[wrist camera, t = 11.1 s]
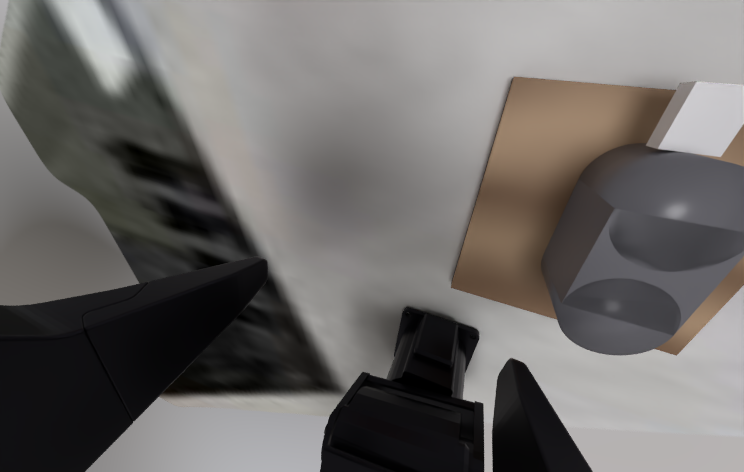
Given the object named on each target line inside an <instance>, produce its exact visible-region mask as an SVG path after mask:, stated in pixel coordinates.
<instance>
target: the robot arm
mask: <svg viewBox="0 0 744 472" xmlns="http://www.w3.org/2000/svg"><path fill="white" fill-rule="evenodd" d="M267 279H268V263H267V260H265V259H263V258H261V257H252V258H247V259H243V260H239V261H235V262H230V263H226V264H222V265H218V266H213V267H209V268H205V269H200V270H196V271H192V272H188V273H183V274H179V275H175V276H170V277H166V278H162V279H158V280H153V281H150V282H149V283H148V282H145V283H140V284H136V285H132V286H127V287H123V288H118V289H114V290H109V291H103V292H98V293H93V294H88V295H82V296H77V297H71V298H66V299H60V300H55V301H50V302H45V303H38V304H32V305H21V306H3V305H0V472H85V471H86V470H87V469H88V468H89V467H90V466H91V465H92V464H93V463H94V462H95V461H96V460H97V459H98V458H99V457H100V456H101V455H102V454H103V453H104V452H105V451H106V450H107V449H108V448H109V447H110V446H111V445H112V444H113V443H114V442H115V441H116V440H117V439H118V438H119V437H120V436H121V434H123V433H124V432H125V431H126V429H127V428H128V427H129V426H130V425H131V424H132V423H133V421H135V420H136V419H137V418H138V417H139V416H140V415H141V414H142V413H143V412H144V411H145V410H146V409H147V408H148V407H149V406H150V405H151V404H152V403H153V402H154V401H155V400H156V399H157V398H158V397H159V396H160V395H161V394H162V393H163V392H164V391H165V390H166V389H167V388H168V387H169V386H170V385H171V384H172V383H173V382H174V380H175V379H176V378H177V377H178V376H179V375H180V374H181V373H182V372H183V371H184V370H185V369H186V368H187V367H188V366H189V365H190V364H191V363H192V362H193V361H194V360H195V359H196V358H197V357H198V356H199V355H200V354H201V353H202V352H203V351H204V350H205V349H206V348H207V347H208V346H209V345H210V344H211V343H212V342H213V341H214V340H215V339H216V338H217V337H218V336H219V335H220V334H221V333H222V332H223V331H224V330H225V329H226V328H227V327H228V326H229V325H230V324H231V323H232V322H233V321H234V320H235V319H236V317H237V316H238V315H239V314H240V313H241V312H242V311H243V310H244V309H245V307H246V306H247V305H248V304H249V303H250V301H251V300H252V299H253V298H254V296H255V295H256V294H257V293H258V291H259V290H260V289H261V288H262V286H263V285H264V284H265V283H266V281H267ZM407 312H408V313H410V314H408V313H407ZM472 335H475V336H472ZM478 341H479V332H478V331H477V330H475V329H472V328H469V327H466V326H464V325H461V324H458V323H455V322H452V321H449V320H446V319H443V318H440V317H437V316H434V315H431V314H428V313H425V312H422V311H419V310H416V309H413V308H409V307H406V308H405V309H404V311H403V313H402V318H401V323H400V328H399V333H398V338H397V343H396V347H395V352H394V360H393V363H392V366H391V368H390V371H389V374H388V377H387V379H384V378H380V377H376V376H372V375H370V373H366V372H362V373H361V375H360V376H359V377H358V379H357V380H356V381H355V382H354V384H353V385H352V386H351V388H350V389H349V391H348V392H347V393H346V395H345V396H344V397H343V399H342V400H341V401H340V403H339V404H338V405H337V407H336V408H335V409H334V411H333V412H332V413H331V415H330V417H329V420H328V424H327V425H326V427H325V431H324V434H325V435H324V440H323V444H322V452H321V460H322V463H321V469H320V472H484V414H483V403H480V402H476V401H475V403H474V402H470V401H466V400H463V389H464V376H465V372H466V370H467V367H468V365H469V362H470V360H471V358H472V355H473V353H474V350H475V348H476V345H477V343H478ZM492 450H493V451H492V452H493V453H492V454H493V472H592V470H591V468H590V467H589V465H588V463H587V462H586V460H585V459H584V457H583V455H582V454H581V452H580V451H579V449H578V448H577V446H576V444H575V443H574V441H573V440H572V438H571V436H570V435H569V433H568V431H567V430H566V428H565V427H564V425H563V423H562V422H561V420H560V419H559V417H558V415H557V414H556V412H555V411H554V409H553V407H552V406H551V404H550V403H549V401H548V399H547V398H546V396H545V395H544V393H543V391H542V390H541V388H540V387H539V385H538V383H537V382H536V380H535V379H534V377H533V375H532V374H531V372H530V371H529V369H528V367H527V366H526V365H525V364H524V363H523V362H520V361H518V360H515V359H513V358H510V359H509V360H508V361H507V362H506V364H505V366H504V367H503V369H502V370H501V372H500V373H499V376H498V379H497V388H496V398H495V408H494V418H493V430H492Z"/></svg>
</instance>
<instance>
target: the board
mask: <svg viewBox="0 0 744 472" xmlns="http://www.w3.org/2000/svg"><path fill="white" fill-rule="evenodd" d="M675 92H676V90H666V89H654V88H642V87H630V86H618V85H606V84H594V83H582V82H570V81H558V80H546V79H535V78H523V77H514V78H513V80H512V83H511V87H510V90H509V93H508V97H507V100H506V103H505V107H504V110H503V113H502V117H501V120H500V123H499V127H498V130H497V133H496V137H495V140H494V143H493V147H492V150H491V154H490V157H489V160H488V164H487V167H486V170H485V174H484V177H483V180H482V184H481V187H480V190H479V194H478V197H477V200H476V204H475V207H474V210H473V214H472V217H471V220H470V224H469V227H468V230H467V234H466V237H465V240H464V244H463V247H462V250H461V254H460V257H459V260H458V264H457V267H456V270H455V274H454V277H453V280H452V285H451V288H454V289H457V290H461V291H464V292H467V293H471V294H474V295H477V296H481V297H484V298H487V299H491V300H494V301H497V302H501V303H504V304H507V305H511V306H514V307H517V308H521V309H524V310H527V311H531V312H534V313H537V314H541V315H544V316H547V317H550V318H554V319H557V316H556V313H555V310H554V307H553V304H552V301H551V298H550V295H549V292H548V289H547V286H546V283H545V280H544V277H543V273H542V270H541V260H542V257H543V254H544V252H545V250H546V248H547V246H548V244H549V241H550V239H551V237H552V235H553V233H554V231H555V229H556V226H557V224H558V222H559V220H560V218H561V216H562V214H563V211H564V209H565V207H566V205H567V203H568V201H569V199H570V196H571V194H572V192H573V190H574V188H575V186H576V184H577V181H578V179H579V177H580V176H581V174H582V172H583V171H584V170H585V168H586V167H587V166H588V165H589V164H590V163H591V162H592V161H593V160H595V159H596V158H597V157H599V156H600V155H602V154H604V153H605V152H607V151H609V150H612V149H614V148H617V147H620V146H623V145H627V144H634V143H647V142H648V141H649V139H650V137H651V135H652V133H653V131H654V130H655V128H656V126H657V124H658V122H659V121H660V119H661V117H662V115H663V113H664V112H665V110H666V108H667V106H668V104H669V103H670V101H671V99H672V97H673V95H674V94H675ZM697 155H701V154H697ZM701 156H705V157H709V158H713V159H717V160H721V161H726V162H730V163H734V164H737V165H741V166H744V124H743V126H742V127H741V129H740V130H739V131H738V133H737V134H736V136H735V137H734V139H733V140H732V142H731V143H730V144H729V146H728V147H727V149H726V150H725V152H724V153H723V154H722V156H721V157H716V156H708V155H701ZM743 285H744V256H743V258H742V259H741V260H740V261H739V262H738V263H737V264H736V266H735V267H734V268H733V269H732V270H731V271H730V272H729V273H728V275H727V276H726V277H725V278H724V279H723V280H722V281H721V282H720V284H719V285H718V286H717V287H716V288H715V289H714V290H713V292H712V293H711V294H710V295H709V296H708V297H707V298H706V299H705V301H704V302H703V303H702V304H701V305H700V306H699V307H698V308H697V310H696V311H695V312H694V313H693V314H692V315H691V316H690V318H689V319H688V320H687V321H686V322H685V323H684V324H683V325H682V327H681V328H680V329H679V330H678V331H677V332H676V333H675V335H674V336H673V337H672V338H671V339H669V340H668V341H667V342H666V343H664V344H662V345H661V346H659V347H657V348H655V349H657V350H660V351H664V352H667V353H670V354H674V355H677V354H678V353H679V352H680V351H681V350H682V349H683V348H684V347H685V346H686V345H687V344H688V343H689V342H690V341H691V340H692V339H693V338H694V337H695V336H696V334H697V333H698V332H699V331H700V330H701V329H702V328H703V327H704V326H705V325H706V324H707V323H708V322H709V321H710V320H711V319H712V318H713V317H714V316H715V315H716V313H717V312H718V311H719V310H720V309H721V308H722V307H723V306H724V305H725V304H726V303H727V302H728V301H729V300H730V299H731V298H732V297H733V296H734V295H735V293H736V292H737V291H738V290H739V289H740V288H741V287H742V286H743Z"/></svg>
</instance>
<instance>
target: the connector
mask: <svg viewBox="0 0 744 472" xmlns="http://www.w3.org/2000/svg"><path fill="white" fill-rule="evenodd" d="M743 124H744V85H740V84H725V83H711V82H697V81H696V82H687V83H680V84H679V86H678V88H677V90H676V92H675V94H674V95H673V97H672V99H671V101H670V103H669V104H668V106H667V108H666V110H665V112H664V113H663V115H662V117H661V119H660V121H659V122H658V124H657V126H656V128H655V130H654V131H653V133H652V135H651V137H650V139H649V141H648V142H647V143H634V144H627V145H623V146H620V147H617V148H614V149H612V150H609V151H607V152H605V153H604V154H602V155H600V156H599V157H597V158H596V159H595V160H593V161H592V162H591V163H590V164H589V165H588V166H587V167H586V168H585V170H584V171H583V172H582V174H581V176H580V177H579V179H578V181H577V184H576V186H575V188H574V190H573V192H572V194H571V196H570V199H569V201H568V203H567V205H566V207H565V209H564V211H563V214H562V216H561V218H560V220H559V222H558V224H557V226H556V229H555V231H554V233H553V235H552V237H551V239H550V241H549V244H548V246H547V248H546V250H545V252H544V254H543V257H542V260H541V270H542V273H543V277H544V280H545V283H546V286H547V289H548V292H549V295H550V298H551V301H552V304H553V307H554V310H555V313H556V316H557V320H558V323H559V325H560V328H561V330H562V331H563V333H564V334H565V335H566V336H567V337H568V338H569V339H570V340H571V341H572V342H574V343H575V344H577V345H579V346H581V347H583V348H585V349H587V350H590V351H593V352H597V353H602V354H608V355H632V354H638V353H643V352H646V351H649V350H652V349H655V348H657V347H659V346H661V345H662V344H664V343H666V342H667V341H668V340H669V339H671V338H672V337H673V336H674V335H675V333H676V332H677V331H678V330H679V329H680V328H681V327H682V325H683V324H684V323H685V322H686V321H687V320H688V319H689V318H690V316H691V315H692V314H693V313H694V312H695V311H696V310H697V308H698V307H699V306H700V305H701V304H702V303H703V302H704V301H705V299H706V298H707V297H708V296H709V295H710V294H711V293H712V292H713V290H714V289H715V288H716V287H717V286H718V285H719V284H720V282H721V281H722V280H723V279H724V278H725V277H726V276H727V275H728V273H729V272H730V271H731V270H732V269H733V268H734V267H735V266H736V264H737V263H738V262H739V261H740V260H741V259H742V258H743V256H744V166H741V165H737V164H734V163H730V162H726V161H721V160H717V159H713V158H709V157H705V156H701V155H708V156H716V157H721V156H722V154H723V153H724V152H725V150H726V149H727V147H728V146H729V144H730V143H731V142H732V140H733V139H734V137H735V136H736V134H737V133H738V131H739V130H740V129H741V127H742V126H743ZM697 154H701V155H697Z"/></svg>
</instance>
